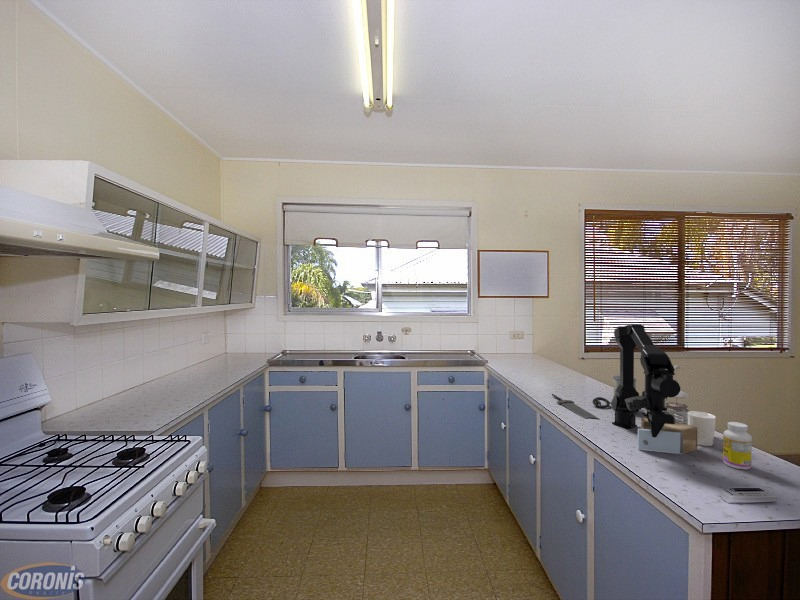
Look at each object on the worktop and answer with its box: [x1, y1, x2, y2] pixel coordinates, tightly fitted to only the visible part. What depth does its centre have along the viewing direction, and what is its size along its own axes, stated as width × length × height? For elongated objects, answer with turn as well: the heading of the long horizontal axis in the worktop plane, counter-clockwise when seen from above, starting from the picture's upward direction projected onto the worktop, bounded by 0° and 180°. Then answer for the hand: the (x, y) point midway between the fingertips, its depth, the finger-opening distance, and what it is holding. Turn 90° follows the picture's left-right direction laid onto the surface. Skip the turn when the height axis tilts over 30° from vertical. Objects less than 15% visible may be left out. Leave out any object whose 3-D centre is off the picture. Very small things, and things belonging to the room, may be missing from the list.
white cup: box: [687, 410, 716, 447], centre depth 137 cm, size 8×8×10 cm
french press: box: [664, 365, 691, 425], centre depth 149 cm, size 10×12×25 cm
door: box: [637, 428, 684, 455], centre depth 128 cm, size 13×2×7 cm, turn 71°
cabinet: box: [640, 416, 698, 455], centre depth 135 cm, size 14×8×8 cm, turn 25°
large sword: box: [551, 393, 600, 420], centre depth 179 cm, size 7×35×2 cm, turn 5°
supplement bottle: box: [722, 421, 753, 470], centre depth 119 cm, size 7×7×13 cm
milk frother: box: [592, 375, 637, 413], centre depth 175 cm, size 14×16×15 cm
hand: (654, 437), depth 128 cm, fingers closed
